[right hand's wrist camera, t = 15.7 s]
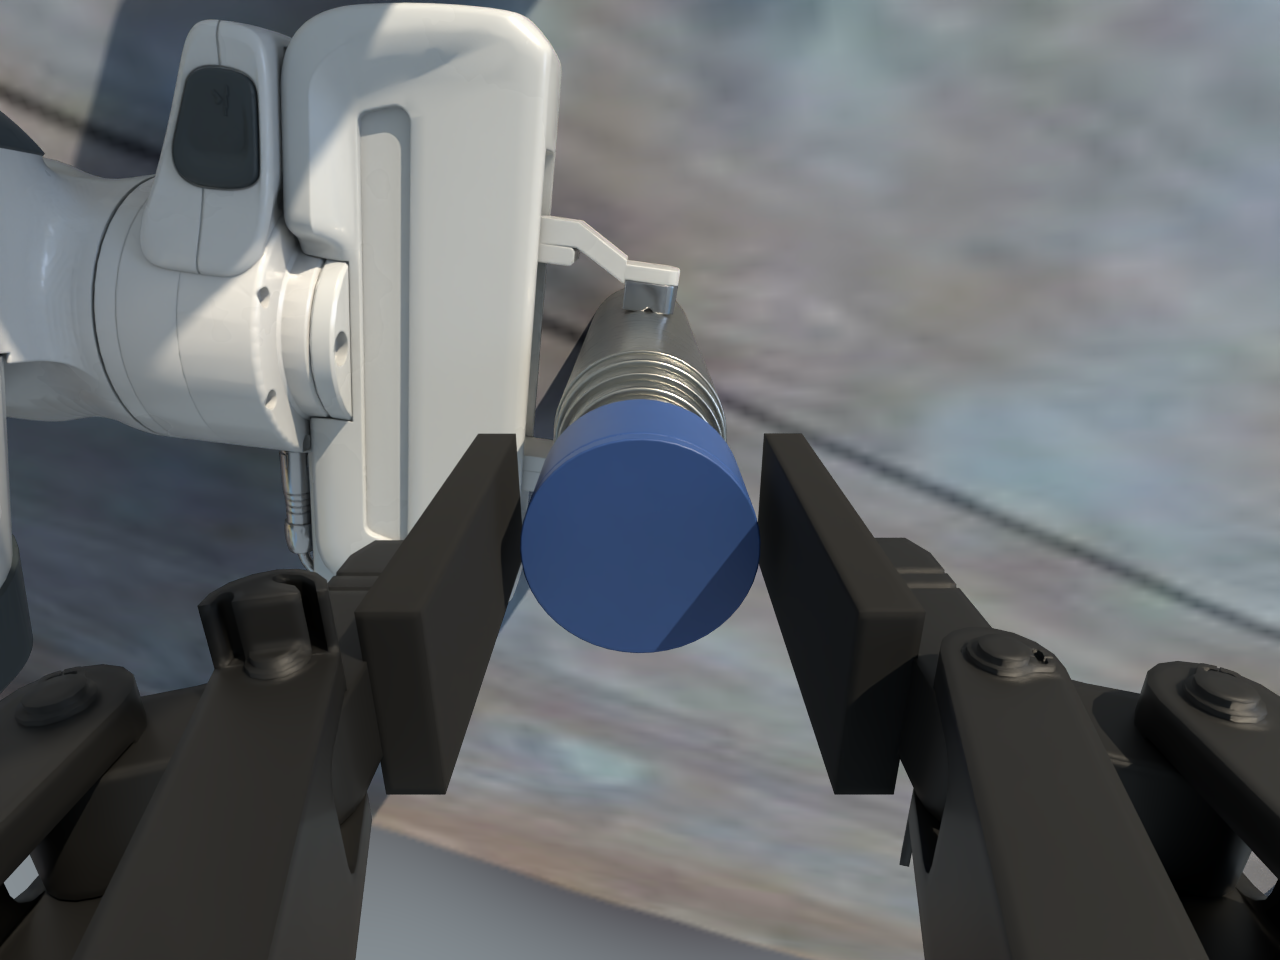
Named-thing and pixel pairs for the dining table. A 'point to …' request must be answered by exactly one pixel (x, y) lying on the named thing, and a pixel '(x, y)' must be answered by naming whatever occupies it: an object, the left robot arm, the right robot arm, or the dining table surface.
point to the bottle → (639, 365)
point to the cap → (640, 529)
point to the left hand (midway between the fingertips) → (664, 373)
